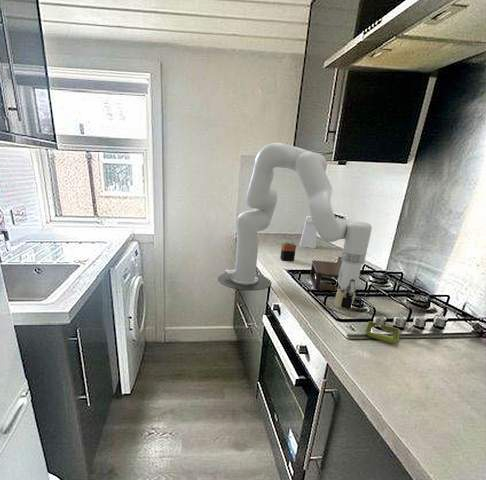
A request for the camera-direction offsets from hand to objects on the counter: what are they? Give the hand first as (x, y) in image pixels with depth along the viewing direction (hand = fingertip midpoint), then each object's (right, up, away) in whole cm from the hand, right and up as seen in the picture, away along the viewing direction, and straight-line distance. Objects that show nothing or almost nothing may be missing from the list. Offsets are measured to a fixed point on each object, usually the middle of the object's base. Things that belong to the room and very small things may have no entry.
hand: (343, 303), depth 112 cm
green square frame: (+2, -8, -20) cm, 22 cm away
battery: (-7, +19, +58) cm, 61 cm away
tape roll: (0, -1, 0) cm, 1 cm away
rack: (+2, +6, +21) cm, 22 cm away
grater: (+17, +30, +95) cm, 101 cm away
